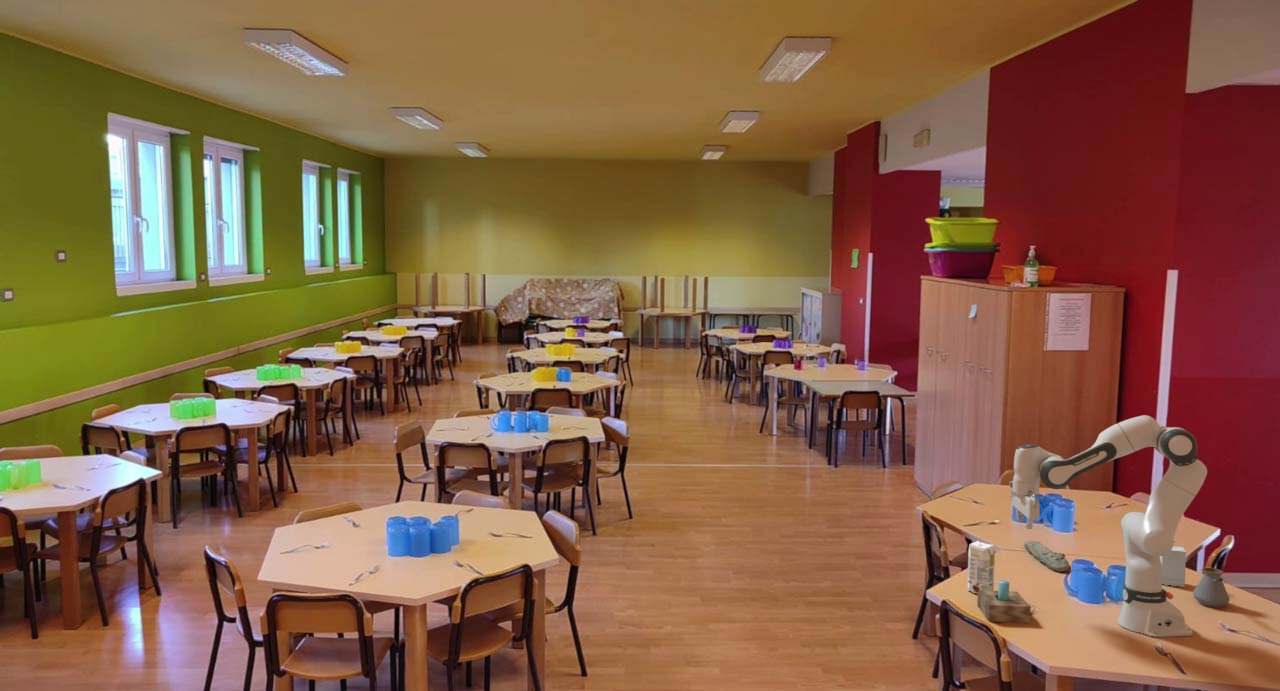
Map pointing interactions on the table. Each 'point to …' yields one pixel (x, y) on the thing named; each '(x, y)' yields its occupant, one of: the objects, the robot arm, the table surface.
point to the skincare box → (1174, 567)
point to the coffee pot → (1211, 589)
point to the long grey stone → (1047, 556)
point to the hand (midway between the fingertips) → (1024, 524)
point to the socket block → (1003, 607)
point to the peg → (1003, 591)
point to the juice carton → (981, 567)
